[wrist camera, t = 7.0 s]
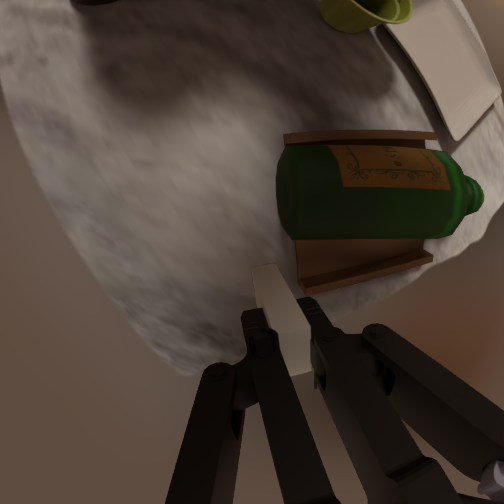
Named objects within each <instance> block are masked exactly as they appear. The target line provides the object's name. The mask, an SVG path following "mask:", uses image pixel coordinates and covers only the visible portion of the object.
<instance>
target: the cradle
mask: <svg viewBox="0 0 504 504" xmlns="http://www.w3.org/2000/svg"><path fill="white" fill-rule="evenodd" d="M283 137H284V145H285V147H286V146H309V145H372V146H394V147H409V148H421V149H425V140H437V135H436V133H434V132H421V131H402V130H334V131H314V132H300V133H290V134H284V135H283ZM423 244H424V239H342V240H295V245H296V257H297V270H298V283H299V285H300V287H301V289H302V290H303V292H304V293H305V295H306V296H307V295H312V294H316V293H320V292H324V291H328V290H332V289H336V288H340V287H344V286H348V285H352V284H356V283H360V282H364V281H367V280H371V279H375V278H378V277H382V276H386V275H389V274H393V273H396V272H400V271H403V270H407V269H410V268H413V267H417V266H420V265H423V264H426V263H430V262H433V255H432V254H431V253H429V252H427V251H425V250H424V249H423Z"/></svg>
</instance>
